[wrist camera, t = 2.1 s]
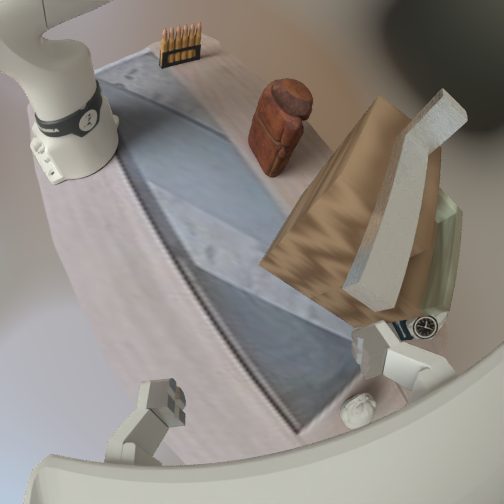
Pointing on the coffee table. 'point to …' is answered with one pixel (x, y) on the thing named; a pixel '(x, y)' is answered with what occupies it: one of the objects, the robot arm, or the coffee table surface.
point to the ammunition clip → (180, 46)
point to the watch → (420, 326)
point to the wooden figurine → (279, 123)
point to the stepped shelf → (356, 222)
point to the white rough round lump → (358, 410)
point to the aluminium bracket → (400, 206)
